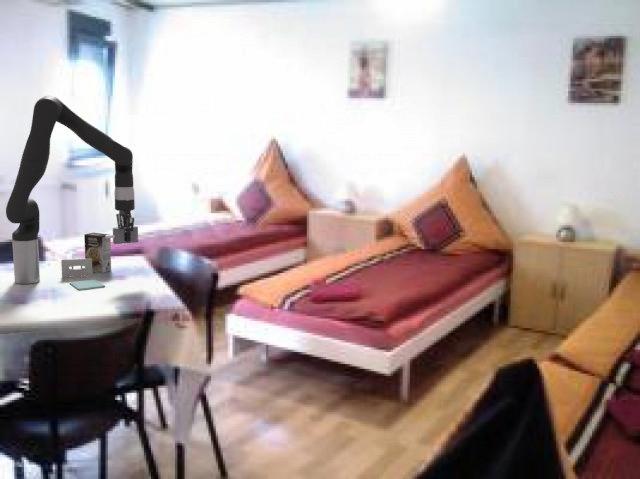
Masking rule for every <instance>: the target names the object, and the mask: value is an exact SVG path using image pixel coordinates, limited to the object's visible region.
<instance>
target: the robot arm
mask: <svg viewBox="0 0 640 479" xmlns="http://www.w3.org/2000/svg"><path fill="white" fill-rule="evenodd" d="M56 123H59V124H61V125H62V126H64V127H66V128H67V129H69V130H70V131H72V132H73V133H74V134H75V135H76V136H77V137H78V138H79V139H80V140H81V141H83V142H84V143H86V144H87V145H88V146H90V147H91V148H93V149H94V150H96V151H98V152H100V153H101V154H104V155H105V156H106V157H107V158H108V159H110V160H111V161H113V162H114V169H115V170H114V171H115V174H114V210H115V211H119V212H118V213H115V214H116V215H115V216H116V221H117V222H116V223H117V227H124V232H125V242H130V241H131V231H133V226H134V224H135V217H134V216H133V217H132V211H135V208H136V206H135V202H136V201H135V188H134V174H133V161H134V160H133V158H134V157H133V152H132V150H131V149H130V148H128V147H127V146H124V145H122V144H121V143H119V142H117V141H116V140H114V139H113V138H112V137H110V136H109V135H108V134H106V133H105V132H103V131H101V130H100V129H98V128H97V127H95V126H93V125H92V124H90V123H89V122H87V121H86V120H85V119H83V118H82V117H80V116H79V115H78V114H77V113H75V112H74V111H73V110H72V109H70V108H69V107H68V106H67V105H66V104H65V103H63V101H61V100H60V99H59V98H58V97H57V96H53V95H45V96H43V97H40V98H39V99H38V100H37V101H36V102H35V104H34V106H33V113H32V120H31V127H30V132H29V135H28V137H27V140H26V143H25V145H24V148H23V151H22V155H21V159H20V162H19V163H20V164H19V168H18V172H17V175H16V179H15V182H14V185H13V188H12V191H11V193H10V196H9V199H8V201H7V203H6V207H5V216H6V218H7V221H9V222H10V223H11V224H18V227H17V228H16V229H15V230H14V231H13V232H12V234H11V238H12V255H13V258H12V259H13V273H14V274H13V275H14V283H15V284H19V285H29V284H36V283H39V282H40V281H41V275H40V254H39V238H38V237H39V236H38V234H39V232H40V209H39V205H38V203H37V201H36V200H34V199H33V198H30V195H31V193H32V192H33V190H34V188H35V187H36V186H37V185H38V183H39V182H40V180H42V178H43V176H44V175H45V173H46V170H47V166H48V164H49V159H50V153H51V137H52V133H53V131H54V128H55V125H56Z"/></svg>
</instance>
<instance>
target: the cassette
mask: <svg viewBox="0 0 640 479" xmlns="http://www.w3.org/2000/svg"><path fill="white" fill-rule="evenodd" d="M60 262H61V263H60V264H61V278H62V279H74V278H75V279H76V278H90V277H94V276H93V274H94V272H93V271H92V259H91V258H89V259H85V258H71V259H70V258H69V259H68V258H67V259H61V261H60ZM74 267H80V268H74Z"/></svg>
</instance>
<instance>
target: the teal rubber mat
mask: <svg viewBox="0 0 640 479" xmlns="http://www.w3.org/2000/svg"><path fill="white" fill-rule="evenodd" d="M69 285H70V286H72V287H73V288H75V289H76V290H78V291H84V290H85V291H86V290H92V289H93V290H94V289H101V288H105V287H106V285H104V284H103V283H102V282H100V281H99V280H97V279H95V278H94V279H87V280H79V281H69Z"/></svg>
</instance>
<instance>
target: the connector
mask: <svg viewBox="0 0 640 479" xmlns="http://www.w3.org/2000/svg"><path fill="white" fill-rule="evenodd" d="M105 238H110V239H112V244H113V245H123V244H134V243H138V242H139V227H138V226H133V231H131V241H130V242H125V232H124V227H118V226H117V227H113V228H112V234H110V235H105Z"/></svg>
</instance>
